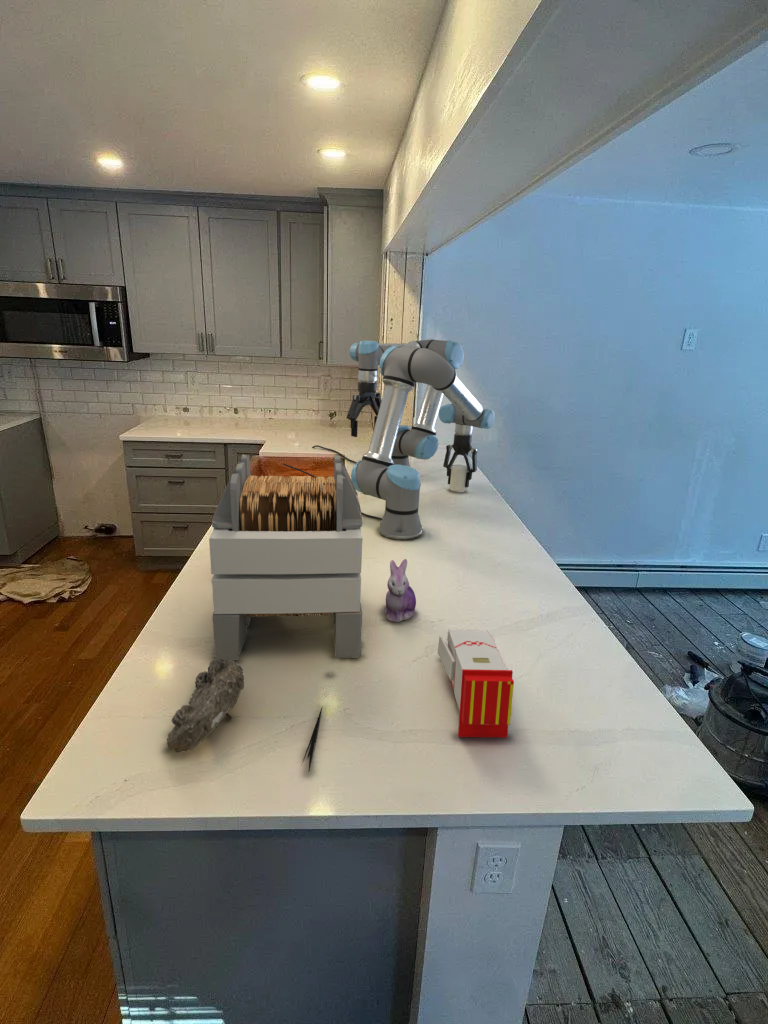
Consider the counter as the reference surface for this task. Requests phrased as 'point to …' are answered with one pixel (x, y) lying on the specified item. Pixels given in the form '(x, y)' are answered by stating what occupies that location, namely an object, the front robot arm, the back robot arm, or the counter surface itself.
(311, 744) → the feather
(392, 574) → the figurine
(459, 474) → the canister
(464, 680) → the toy
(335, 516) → the grey record crate stand
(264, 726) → the counter surface
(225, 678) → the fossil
